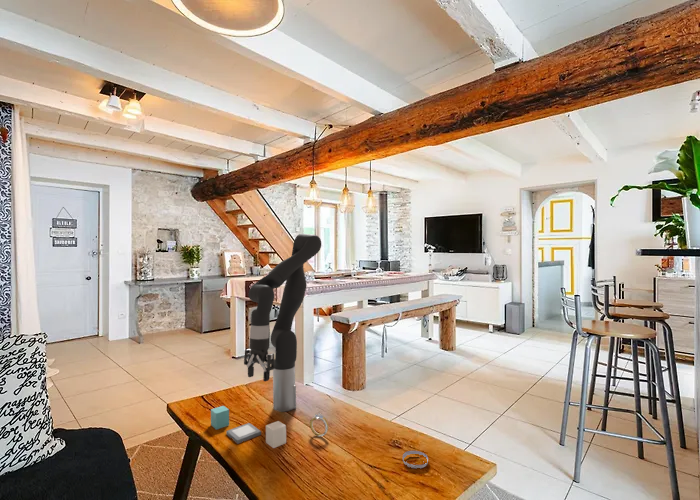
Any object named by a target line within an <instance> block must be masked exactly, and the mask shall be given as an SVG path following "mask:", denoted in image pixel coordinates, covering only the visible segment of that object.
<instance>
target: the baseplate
mask: <svg viewBox="0 0 700 500" xmlns="http://www.w3.org/2000/svg"><path fill="white" fill-rule="evenodd" d="M225 433H226V435H227V436H228V437H229V438H230V439H231V438H232V439H233V440H232V439H231V440H232V441H234V442H235V443H236V444H237V445H238V444H241V443H242V442H243V441H244V442H245V441H248V440H251V439H253V438H257V437H259V436H261V435H262V430H260V429H258V428H257V426H254V425H253V424H252V423H250V422H247V423H245V424H242V425H239V426H237V427H233V428H231V429H228V430H226V432H225Z"/></svg>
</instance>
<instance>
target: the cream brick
mask: <svg viewBox="0 0 700 500" xmlns="http://www.w3.org/2000/svg"><path fill="white" fill-rule="evenodd" d="M265 444H266V445H268V446H269V447H271V448H272V449H276V448H277V447H280V446H283V445H285V444H287V425H286V424H284V423H282V422H281V421H279V420H277V421H274V422H271V423H269V424H267V425H265Z"/></svg>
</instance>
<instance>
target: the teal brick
mask: <svg viewBox="0 0 700 500" xmlns="http://www.w3.org/2000/svg"><path fill="white" fill-rule="evenodd" d="M210 426H211V427H213V428H214V430H219V429H223V428H225V427H228V426H230V409H229V408H227V407H226V406H225V405H220V406H218V407H214V408H211V409H210Z"/></svg>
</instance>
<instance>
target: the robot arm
mask: <svg viewBox="0 0 700 500" xmlns="http://www.w3.org/2000/svg"><path fill="white" fill-rule="evenodd" d="M321 240H322V239H321V238H320V237H319V236H318V235H316V234H311V233H299V234H296V237H295V238H294V241H293V244H292V251H291V256H289V257H288V258H286V259H283V260H282V261H280V262H279V263H278V264H277V265H276V266H274V267H273V269H271V270H270V272H269V273H268V274H267V275H265V276H264V277H262V278H260V279H259V280H258V281H256V282H255V283H253V285H251V287H250V289H249V290H248V298H249V300H250V301H251V302H254V303H257V306H256V309H253V310H252V311H251V314H250V315H251V316H250V317H251V318H250V329H249V347H248V348H246V349H245V350H244V357H243V365H244V366H246V367H247V377H248V378H253V377H254V375H255V374H254V372H255V368H254V367H255V366H254V365H255V364H260V367H262V370H263V377H262V379H263V382H268V381H269V380H270V373H271V371H272V386H273V387H272V393H273V394H272V396H273V397H272V399H273V400H272V401H273V404H272V405H273V407H272V408H273V410H274V411H275V412H281V413H282V412H283V413H284V412H289V411H292V410H294V409H295V410H296V409H297V385H296V360H297V354H298V351H297V349H298V346H297V345H298V343H297V342H298V341H297V339H298V338H297V336H296V333H295V332H294V331H292V327H293V326H292V325H293V323H294V318H295V316H296V314H297V313H298V310H299V308H300V307H301V305H302V303H303V301H304V299H305V294H306V291H307V286H308V285H307V279H306V275H305V270H304V269H305V268H304V265H305V263H307V262H308V261H309V260H311V259H312V258H314V257H315V256H316V255H318V253H319V252H320V250H321V248H322V241H321ZM284 283H285V285H284V287H283V293H282V297H281V301H280V305H279V309H278V314H277V318H276V320H275V322H274V326H273V328H272V331H271V330H270V329H271V328H270V322H271V316H270V315H271V314H270V313H271V311H272V307H273V304H274V302H275V291H274V289H278V288H280V287H282V285H283V284H284ZM270 334H271V335H270ZM270 343H271V345H272V346H273V347H274V349H275V354H274V352H273V353H269V349H270Z"/></svg>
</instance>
